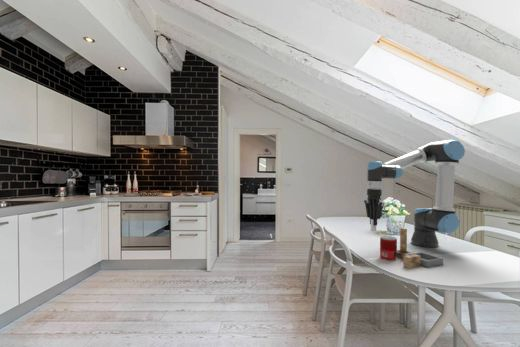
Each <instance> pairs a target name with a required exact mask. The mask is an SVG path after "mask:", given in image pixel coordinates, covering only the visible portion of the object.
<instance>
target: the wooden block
mask: <svg viewBox="0 0 520 347" xmlns="http://www.w3.org/2000/svg"><path fill="white" fill-rule="evenodd" d="M402 260H403V261H402V262H403V267H404V268H407V269H412V268H419V267H421V256H419V255H416V254H413V255H407V256H403V259H402Z"/></svg>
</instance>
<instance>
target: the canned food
mask: <svg viewBox="0 0 520 347" xmlns="http://www.w3.org/2000/svg"><path fill="white" fill-rule="evenodd" d="M379 238H380V239H379V240H380V241H379V256H380V258H381V259H383V260H385V259H386V260H387V261H396V260H397V258H398V257H397V250H398V238H397V237H395V236H392V235H391V236H390V235H381V236H380V237H379ZM386 260H385V261H386Z"/></svg>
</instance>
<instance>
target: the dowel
mask: <svg viewBox="0 0 520 347" xmlns="http://www.w3.org/2000/svg"><path fill="white" fill-rule="evenodd" d="M399 231H400V233H399V234H400V238H399V245H400V246H399V250H400V252H401V253H407V251H408V228H405V227H400V229H399Z"/></svg>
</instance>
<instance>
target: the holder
mask: <svg viewBox="0 0 520 347" xmlns="http://www.w3.org/2000/svg"><path fill="white" fill-rule="evenodd" d="M412 253H414V251H413V252H412V251H409V250H407V253H401V252H400V249H397V258H399V259H402V260H403V256H405V254H412Z"/></svg>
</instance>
